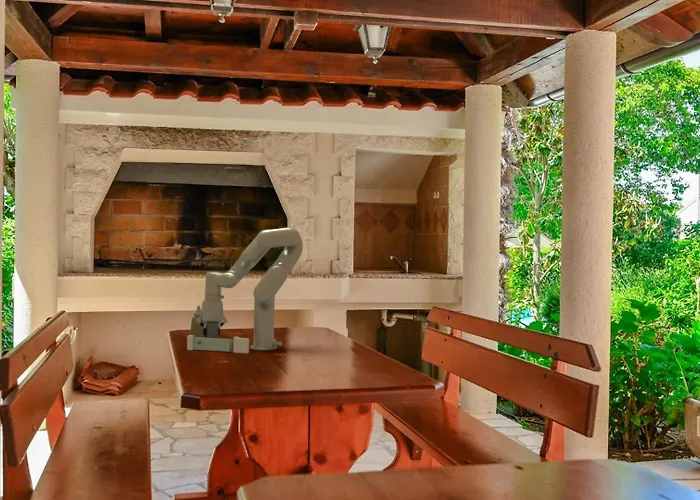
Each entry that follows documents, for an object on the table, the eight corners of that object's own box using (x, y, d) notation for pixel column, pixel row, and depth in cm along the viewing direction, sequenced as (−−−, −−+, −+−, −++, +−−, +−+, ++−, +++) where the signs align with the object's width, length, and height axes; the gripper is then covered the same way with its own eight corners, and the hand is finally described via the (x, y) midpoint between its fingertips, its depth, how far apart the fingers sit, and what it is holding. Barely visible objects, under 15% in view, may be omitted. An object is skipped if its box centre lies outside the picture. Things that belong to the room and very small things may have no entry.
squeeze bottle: (208, 340, 380) (208, 305, 380) (203, 343, 372) (204, 306, 372) (192, 340, 381) (193, 304, 380) (187, 342, 373) (188, 306, 372)
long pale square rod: (233, 351, 346) (233, 339, 346) (231, 352, 344) (231, 340, 344) (195, 349, 350) (196, 337, 350) (193, 349, 348) (193, 337, 348)
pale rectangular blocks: (249, 352, 345) (249, 337, 345) (247, 353, 342) (247, 338, 342) (189, 349, 352) (189, 334, 352) (186, 349, 349) (187, 334, 349)
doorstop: (214, 338, 360) (215, 321, 360) (217, 340, 354) (218, 323, 354) (204, 338, 359) (205, 321, 358) (207, 340, 352) (208, 323, 352)
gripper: (229, 297, 362) (227, 335, 363) (193, 297, 356) (191, 335, 356) (232, 298, 356) (230, 337, 356) (196, 298, 349) (194, 337, 350)
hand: (211, 336), depth 356 cm, fingers closed on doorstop, 5 cm apart
